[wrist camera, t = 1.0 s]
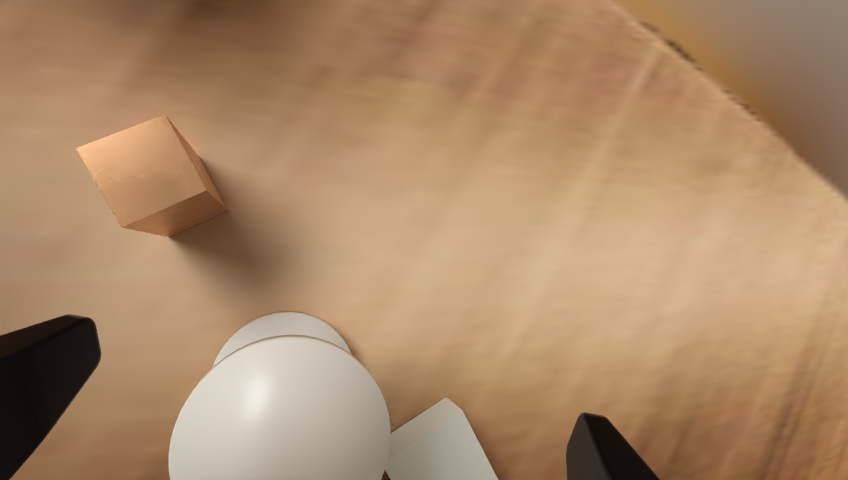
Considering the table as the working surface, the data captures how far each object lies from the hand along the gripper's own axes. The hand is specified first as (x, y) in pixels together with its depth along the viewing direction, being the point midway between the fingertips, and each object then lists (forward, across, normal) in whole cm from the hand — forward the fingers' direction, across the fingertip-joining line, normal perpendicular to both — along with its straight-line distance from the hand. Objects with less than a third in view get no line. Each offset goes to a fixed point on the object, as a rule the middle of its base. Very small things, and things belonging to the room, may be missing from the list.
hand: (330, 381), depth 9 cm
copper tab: (+14, +11, +4) cm, 18 cm away
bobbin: (+11, +5, +12) cm, 17 cm away
